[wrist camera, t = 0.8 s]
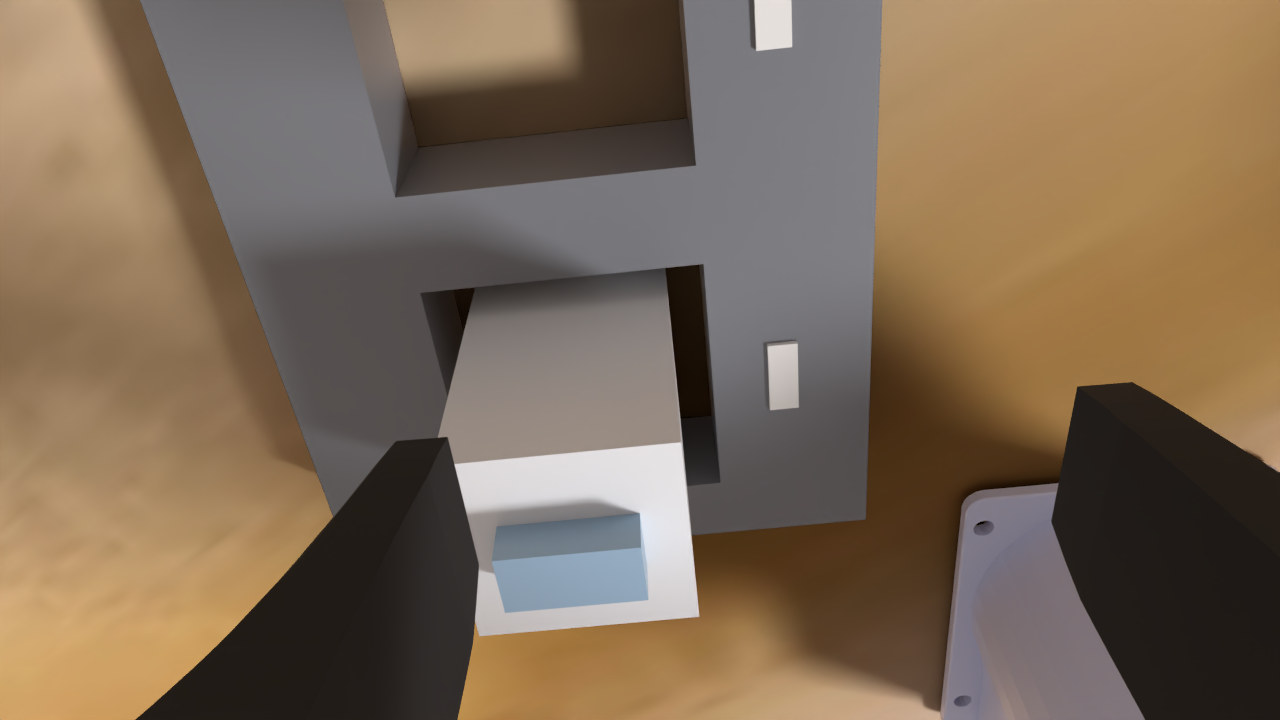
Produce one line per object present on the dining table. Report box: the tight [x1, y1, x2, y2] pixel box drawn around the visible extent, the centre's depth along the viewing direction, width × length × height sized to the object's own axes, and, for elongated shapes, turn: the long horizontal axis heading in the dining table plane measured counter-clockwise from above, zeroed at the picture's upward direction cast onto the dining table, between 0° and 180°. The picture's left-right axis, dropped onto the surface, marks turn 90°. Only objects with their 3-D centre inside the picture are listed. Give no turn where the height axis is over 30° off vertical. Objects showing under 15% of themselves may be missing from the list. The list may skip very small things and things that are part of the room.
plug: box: [438, 268, 699, 636], centre depth 19 cm, size 4×4×8 cm
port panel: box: [140, 0, 882, 535], centre depth 19 cm, size 16×12×3 cm
